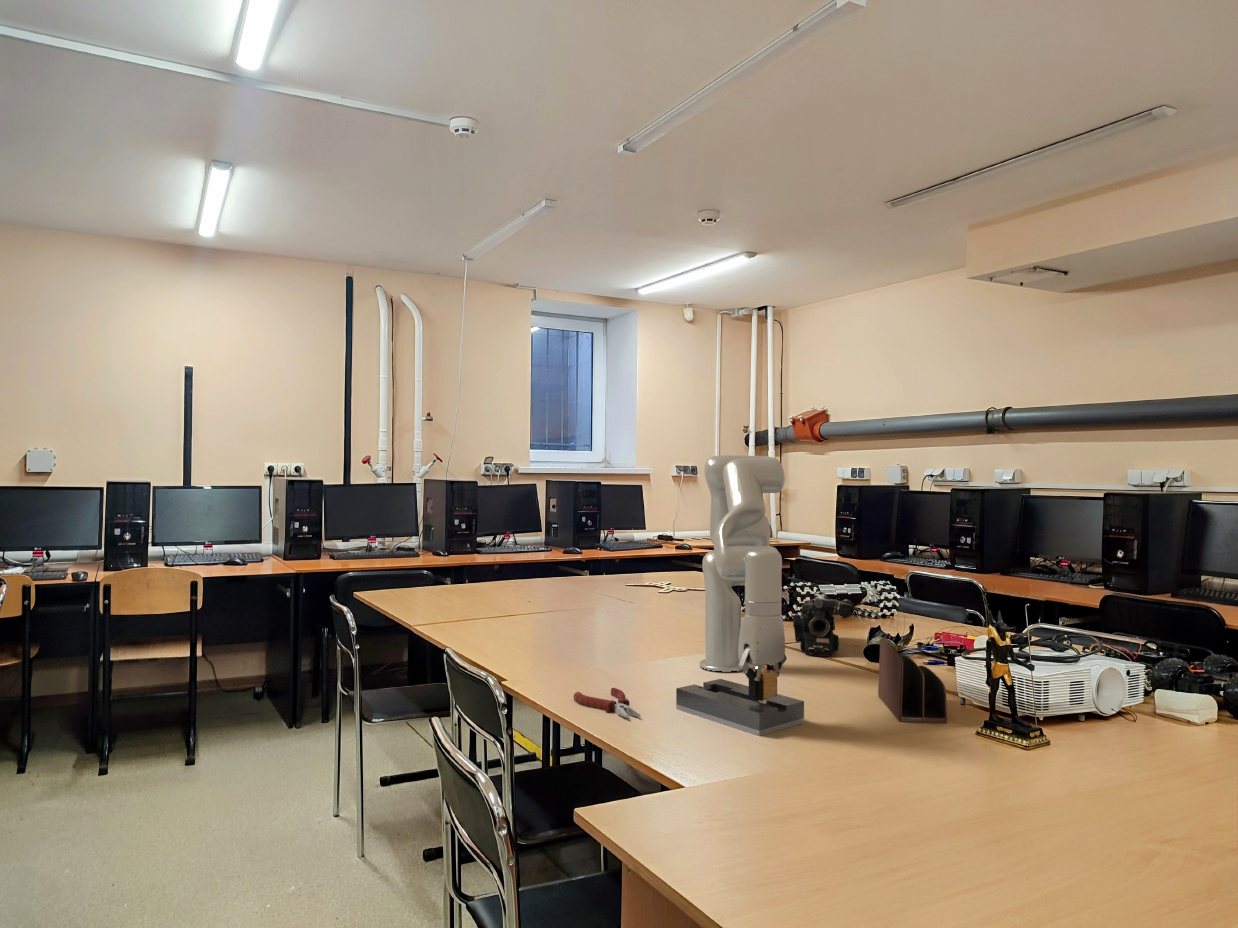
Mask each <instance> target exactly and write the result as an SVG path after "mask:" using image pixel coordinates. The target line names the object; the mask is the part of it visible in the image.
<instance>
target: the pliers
mask: <svg viewBox="0 0 1238 928" xmlns="http://www.w3.org/2000/svg"><path fill="white" fill-rule="evenodd" d="M610 696H612V697H613V698H616V699H618V701H615V700H613V699H612V700H609V699H605V698H600V697H595V696H594V697H593V696H589V695H585V694H583V693H581V692H580V691H576V692H574V693H573V700H574V702H575V703H576V704H578V705H579V706H583V707H586V708H590V709H591V708H593V709H596V710H602V711H605V714H609V713H616V715H617V716H618V715H619V716H621V717H623V718H626V719H627V720H629V717H639V718H640V717H642V716H641V714H640V713H639V712H638V711H636V710H635V709H633V708H632V707H631V706H630V701H629V699H626V694H625V692H623V690H621V689H618V688H617V687H611V688H610Z"/></svg>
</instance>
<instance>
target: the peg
mask: <svg viewBox="0 0 1238 928" xmlns="http://www.w3.org/2000/svg"><path fill="white" fill-rule="evenodd" d="M755 669H756V668H755ZM755 669H754V668H753V670H754V672H755ZM760 681H762V700H759V703H762V704H765V705H767V698H769V697H773V696H777V694H778V677H777V671H773V670H769V669H765V667H761V675H760Z"/></svg>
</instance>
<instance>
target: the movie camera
mask: <svg viewBox="0 0 1238 928" xmlns="http://www.w3.org/2000/svg"><path fill="white" fill-rule="evenodd" d="M855 609H856V605H855V603H853V601H852V600H850V599H847V598H846V599H842V600H838V599H831V598H830V597H829V596H828V595H826V592H824V591H816V592H815V594H814V598H812V599H810V600H807V602H803V603H802V604H801V615H799V614H793V615H792V627H793V629H794V639H795V642H796V643H800V645H799V646H800V651H801V652H804V654H806V655H811V656H814V657H833V656H834V654H833V653H835V652H836V651H837V652H838V651H839V645H840V642H839V635H838V634H835V633H834V631H836V624H835V616H834V615H838V616H840V617H842V619H848V618H850V616H851V615H853V614H854V612H855ZM809 649H813V650H814V651H813V652H811V651H810V650H809ZM825 650H828V652H825Z"/></svg>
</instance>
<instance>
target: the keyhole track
mask: <svg viewBox="0 0 1238 928" xmlns="http://www.w3.org/2000/svg"><path fill="white" fill-rule="evenodd" d="M702 685H703V686H701V685H698V684H691V685H690V684H689V685H686V686H685V685H684V686H681V687H677V688H676V690H675V691H676V692H675V693H676V694H675V697H676V699H675V701H676V702H675V703H676V704H675V707H676V710H679V711H681V710H682V712H685V713H689V714H692V715H694V716H698V717H700V718H703V719H707V720H709V721H712V722H716V723H719V724H722V725H724V726H727V727H731V728H734V729H737V730H740V731H743V732H747V733H749V734H751V735H752V734H753V735H756V736H759V737H760V736H763V735H764V736H765V735H767V734H771V733H774V732H777V731H780V730H781V731H782V730H785V729H788V728H792V727H794V726H798V725H801V724H804V723H805V700H803V699H802V700H801V699H797V698H793V697H789V696H787V695H783V694H779V693H777V696H775V697H774V696H773V697H769V698H767V705H765V704H762V703H759V700H755V699H752V698H749V685H745V684H741V683H739V682H738V683H737V682H734V681H730V680H726V679H723V678H717V679H712V680H709V681H705V682H703V683H702Z"/></svg>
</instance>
